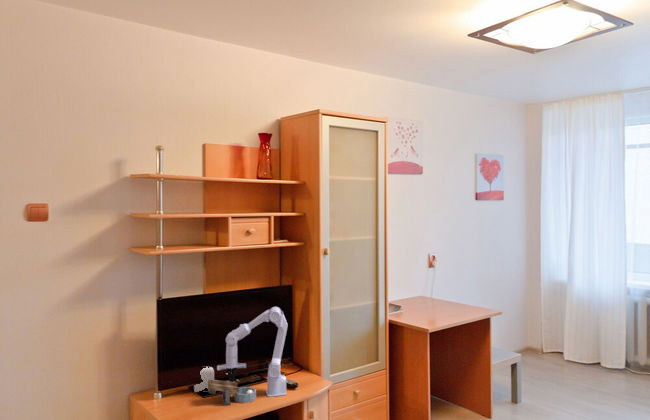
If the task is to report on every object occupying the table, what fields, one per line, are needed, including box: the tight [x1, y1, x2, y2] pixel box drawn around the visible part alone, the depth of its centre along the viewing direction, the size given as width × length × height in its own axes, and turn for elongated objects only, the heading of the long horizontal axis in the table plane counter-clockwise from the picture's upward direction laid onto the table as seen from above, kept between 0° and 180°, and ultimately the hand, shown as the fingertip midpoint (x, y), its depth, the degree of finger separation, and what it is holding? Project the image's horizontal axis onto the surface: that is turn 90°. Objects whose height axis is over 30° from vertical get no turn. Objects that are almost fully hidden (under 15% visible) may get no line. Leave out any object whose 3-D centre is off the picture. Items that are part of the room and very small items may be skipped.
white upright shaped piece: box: [193, 366, 215, 393], centre depth 266 cm, size 10×4×12 cm, turn 104°
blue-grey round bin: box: [233, 386, 257, 404], centre depth 255 cm, size 11×11×4 cm
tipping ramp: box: [207, 379, 241, 395], centre depth 255 cm, size 15×15×4 cm
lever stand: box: [221, 389, 232, 406], centre depth 252 cm, size 3×12×8 cm, turn 18°
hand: (231, 382), depth 260 cm, fingers closed
